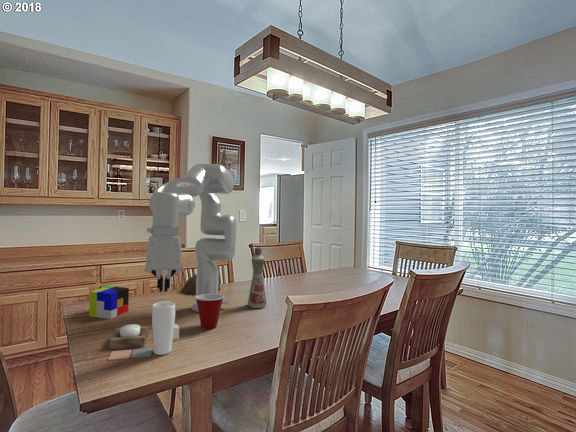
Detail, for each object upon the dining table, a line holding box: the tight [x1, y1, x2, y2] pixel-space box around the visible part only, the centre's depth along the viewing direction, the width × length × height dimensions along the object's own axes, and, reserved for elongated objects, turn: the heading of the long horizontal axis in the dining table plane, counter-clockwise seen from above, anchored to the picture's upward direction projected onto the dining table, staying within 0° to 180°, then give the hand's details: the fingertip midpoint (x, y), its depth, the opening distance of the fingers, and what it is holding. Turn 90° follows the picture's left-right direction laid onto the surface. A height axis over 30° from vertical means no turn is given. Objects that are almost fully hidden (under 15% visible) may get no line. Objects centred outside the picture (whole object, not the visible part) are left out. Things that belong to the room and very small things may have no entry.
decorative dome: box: [182, 273, 221, 296], centre depth 174 cm, size 19×20×10 cm
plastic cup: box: [195, 293, 225, 330], centre depth 123 cm, size 11×11×12 cm
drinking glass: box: [151, 300, 176, 356], centre depth 101 cm, size 7×7×15 cm
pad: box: [107, 349, 133, 361], centre depth 97 cm, size 6×6×1 cm
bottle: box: [247, 246, 267, 309], centre depth 151 cm, size 9×9×28 cm
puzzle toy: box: [88, 285, 130, 320], centre depth 133 cm, size 10×10×10 cm
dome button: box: [119, 323, 141, 337], centre depth 107 cm, size 6×6×4 cm
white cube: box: [172, 323, 180, 341], centre depth 112 cm, size 4×4×4 cm
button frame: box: [109, 325, 149, 350], centre depth 107 cm, size 10×10×3 cm
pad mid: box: [129, 347, 154, 360], centre depth 99 cm, size 6×6×1 cm
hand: (163, 290), depth 100 cm, fingers closed
